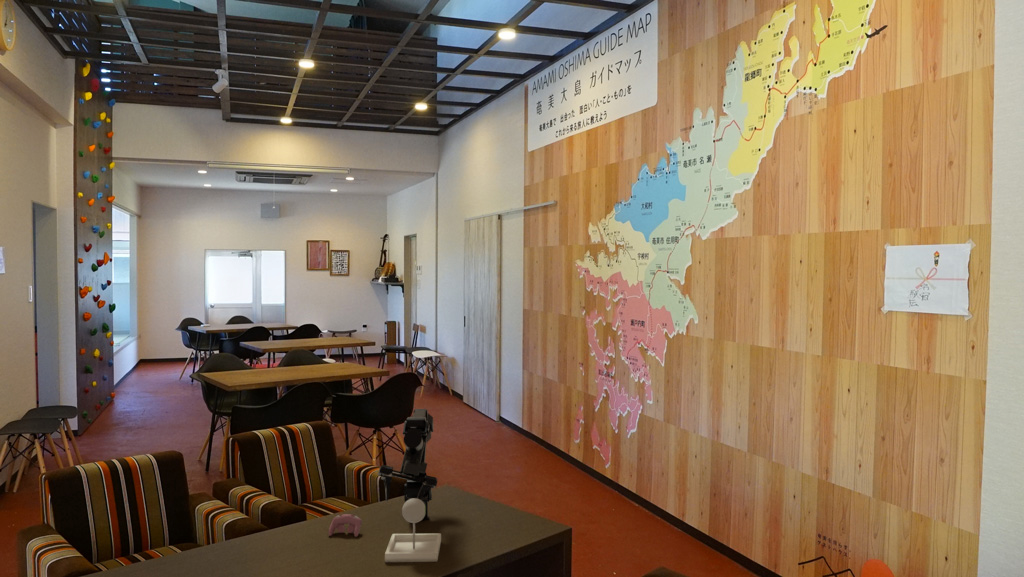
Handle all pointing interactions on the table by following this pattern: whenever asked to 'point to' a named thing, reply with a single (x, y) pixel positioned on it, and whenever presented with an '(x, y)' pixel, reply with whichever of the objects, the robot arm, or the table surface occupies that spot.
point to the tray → (404, 552)
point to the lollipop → (413, 513)
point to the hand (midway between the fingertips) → (401, 504)
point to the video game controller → (345, 519)
